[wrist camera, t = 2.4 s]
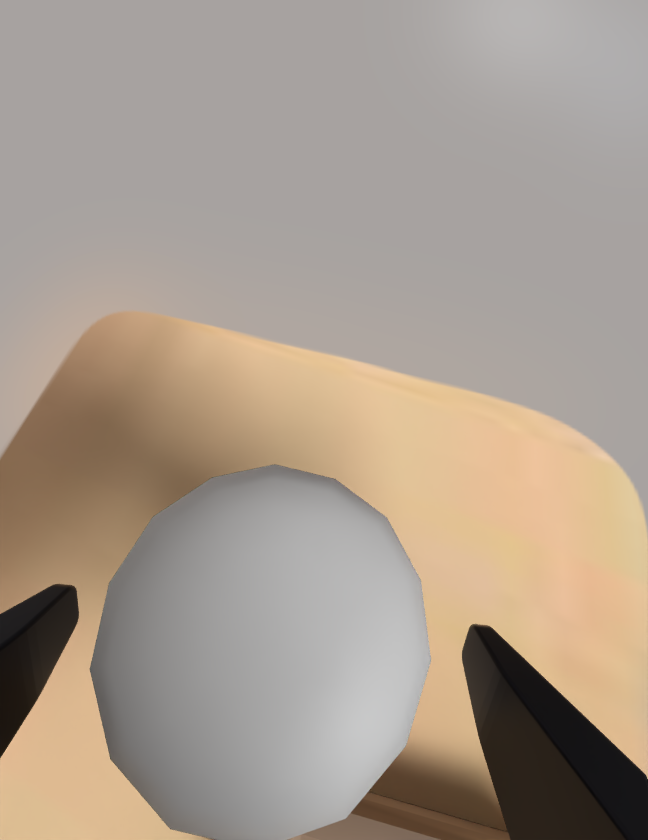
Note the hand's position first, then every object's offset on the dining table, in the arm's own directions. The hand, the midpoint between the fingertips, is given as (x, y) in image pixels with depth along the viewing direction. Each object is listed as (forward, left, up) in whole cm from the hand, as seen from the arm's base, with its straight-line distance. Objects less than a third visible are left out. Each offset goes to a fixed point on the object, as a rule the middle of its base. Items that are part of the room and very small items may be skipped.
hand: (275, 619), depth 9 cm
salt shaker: (0, 0, -8) cm, 8 cm away
